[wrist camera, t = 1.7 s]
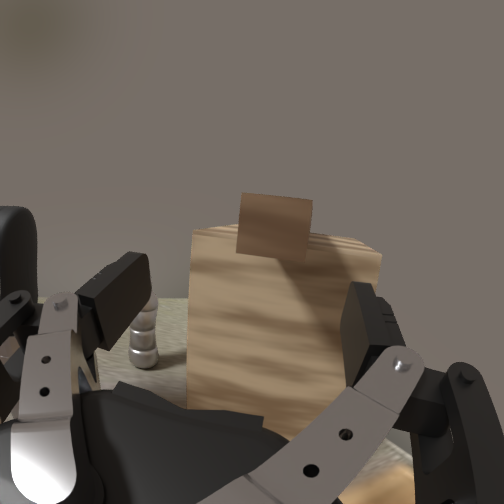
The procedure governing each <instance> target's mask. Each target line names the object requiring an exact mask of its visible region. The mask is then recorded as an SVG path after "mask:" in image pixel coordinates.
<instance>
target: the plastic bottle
mask: <svg viewBox="0 0 504 504" xmlns="http://www.w3.org/2000/svg"><path fill="white" fill-rule="evenodd" d="M150 278H151V276H150ZM151 286H152V282H151ZM157 309H158V299H157V297H156V295H155V293H154V292H153V291H152V292H151V297H150V299H149V301H148V303H147V304H146V305H145V306H144V308H143V309H142V310H141V311H140V313H139V314H138V315H137V316H136V318H135V319H134V320H133V321H132V323H131V324H130V345H129V351H128V355H129V359H130V362H131V363H132V364H133V365H134V366H136V367H138V368H151V367H153V366H154V365H155V364H156V363H157V362H158V356H159V354H158V348H157V345H156V335H155V326H156V316H157Z"/></svg>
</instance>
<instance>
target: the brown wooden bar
mask: <svg viewBox="0 0 504 504" xmlns="http://www.w3.org/2000/svg"><path fill="white" fill-rule="evenodd" d="M311 217H312V200H307V199H300V198H291V197H281V196H271V195H263V194H252V193H242V195H241V205H240V214H239V224H238V234H237V244H236V253H238V254H245V255H253V256H260V257H267V258H275V259H282V260H289V261H296V262H304V263H305V259H306V252H307V246H308V240H309V234H310V226H311Z"/></svg>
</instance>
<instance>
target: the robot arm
mask: <svg viewBox="0 0 504 504" xmlns="http://www.w3.org/2000/svg"><path fill="white" fill-rule="evenodd" d="M151 292H152V286H151V278H150V270H149V261H148V257H147V255H146V254H143V253H137V252H127V253H126V254H125V255H123V256H122V257H121V258H120V259H119V260H117V261H116V262H114V263H112V264H110V265H107V266H106V267H105V268H104V269H102V270H101V271H100V272H99V273H97V274H96V275H95V276H94V277H93V278H91V279H90V280H89V281H88V282H87V283H85V284H84V285H83V286H82V287H81V288H80V289H78V290H77V291H76V292H75V293H71V292H61V293H57V294H54V295H52V296H51V297H49V298H48V299H47V300H46V301H45V302H44V304H39V303H37V302H38V288H37V230H36V224H35V220H34V217H33V215H32V213H31V212H30V211H29V210H28V209H26V208H24V207H19V206H0V504H343V503H342V502H341V501H340V500H339V498H338V496H339V495H340V494H341V493H342V491H343V490H344V489H345V488H346V487H347V486H348V485H349V484H350V482H351V481H352V480H353V479H354V478H355V476H356V475H357V474H358V473H359V472H360V470H361V469H362V468H363V467H364V465H365V464H366V463H367V461H368V460H369V459H370V458H371V456H372V455H373V454H374V452H375V451H376V449H377V448H378V447H379V445H380V444H381V443H382V441H383V440H384V438H385V437H386V435H387V434H388V432H389V431H390V429H391V428H395V429H398V430H402V431H407V432H410V439H411V447H412V457H413V468H414V482H415V504H504V435H503V432H502V429H501V425H500V422H499V420H498V417H497V414H496V411H495V408H494V405H493V403H492V400H491V397H490V395H489V392H488V390H487V387H486V385H485V382H484V380H483V377H482V375H481V374H480V372H479V371H478V370H477V369H476V368H474V367H473V366H472V365H470V364H467V363H464V362H456V363H454V364H452V365H451V366H450V367H449V369H448V370H447V372H446V373H444V372H440V371H436V370H432V369H429V368H426V367H425V366H424V362H423V360H422V358H421V357H420V355H419V354H418V353H416V352H415V351H414V350H412V349H410V348H407V347H406V345H405V342H404V340H403V337H402V334H401V331H400V329H399V326H398V324H397V321H396V319H395V316H394V313H393V311H392V308H391V306H390V305H389V304H388V303H387V302H386V301H385V300H384V299H383V298H382V297H376V295H375V292H374V290H373V287H372V284H371V283H365V282H356V281H351V283H350V285H349V289H348V293H347V297H346V301H345V304H344V308H343V312H342V316H341V321H340V335H341V343H342V352H343V361H344V370H345V380H346V388H345V389H344V390H343V391H342V392H341V393H340V395H339V396H338V397H337V398H336V399H335V400H334V401H333V402H332V403H331V404H330V405H329V406H328V407H327V408H326V409H325V410H324V411H323V412H322V413H321V414H320V415H319V416H317V417H316V418H315V419H314V420H313V421H312V422H311V423H310V424H309V425H308V426H307V427H306V428H305V429H303V430H302V431H301V432H300V433H299V434H298V435H297V436H296V437H295V438H293V439H292V440H291V441H289V440H288V439H286V438H285V437H283V436H281V435H280V434H278V433H276V432H274V431H272V430H269V429H267V428H264V427H262V426H263V420H264V416H258V415H252V414H245V413H239V412H234V411H228V410H195V409H183V408H180V407H178V406H176V405H174V404H172V403H170V402H168V401H167V400H165V399H163V398H161V397H159V396H158V395H156V394H154V393H152V392H151V391H148V390H145V389H142V388H139V387H135V386H132V385H129V384H127V383H124V382H121V381H119V382H118V383H117V385H116V387H115V388H114V390H101V387H100V380H99V372H98V364H97V356H96V353H95V350H96V349H97V347H98V348H101V349H104V350H107V351H110V350H111V348H112V347H113V346H114V344H115V343H116V342H117V340H118V339H119V338H120V337H121V335H122V334H123V333H124V331H125V330H126V329H127V328H128V326H129V325H130V324H131V323H132V321H133V320H134V319H135V318H136V316H137V315H138V314H139V313H140V311H141V310H142V309H143V308H144V306H145V305H146V304H147V303H148V301H149V299H150V297H151ZM10 412H11V414H12V416H13V418H14V419H13V420H10V421H7V422H4V421H5V420H6V418H7V417H8V415H9V414H10ZM3 422H4V423H3ZM450 428H451V430H450ZM451 432H452V434H451ZM452 437H453V439H452Z"/></svg>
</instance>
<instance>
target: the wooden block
mask: <svg viewBox="0 0 504 504" xmlns="http://www.w3.org/2000/svg"><path fill="white" fill-rule="evenodd" d="M237 234H238V224H236V225H227V226H220V227H213V228H205V229H198V230H193V237H192V250H191V264H190V282H189V300H188V326H187V409H195V410H228V411H234V412H239V413H245V414H252V415H258V416H264V420H263V426H262V427H264V428H267V429H269V430H272V431H274V432H276V433H278V434H280V435H281V436H283V437H285V438H286V439H288V440H289V441H291V440H292V439H293V438H295V437H296V436H297V435H298V434H299V433H300V432H301V431H302V430H303V429H305V428H306V427H307V426H308V425H309V424H310V423H311V422H312V421H313V420H314V419H315V418H316V417H317V416H319V415H320V414H321V413H322V412H323V411H324V410H325V409H326V408H327V407H328V406H329V405H330V404H331V403H332V402H333V401H334V400H335V399H336V398H337V397H338V396H339V395H340V393H341V392H342V391H343V390H344V389H345V388H346V380H345V370H344V361H343V352H342V343H341V335H340V321H341V316H342V312H343V308H344V304H345V301H346V297H347V293H348V289H349V285H350V283H351V281H356V282H365V283H371V284H372V287H373V290H374V292H376V287H377V281H378V276H379V270H380V265H381V258H382V255H381V254H380V253H378V252H376V251H375V250H373V249H371V248H370V247H368V246H366V245H365V244H363V243H361V242H359V241H358V240H356V239H353V238H345V237H338V236H331V235H324V234H316V233H310V234H309V240H308V246H307V252H306V259H305V263H304V262H296V261H289V260H282V259H275V258H267V257H260V256H253V255H245V254H238V253H236V244H237Z"/></svg>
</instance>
